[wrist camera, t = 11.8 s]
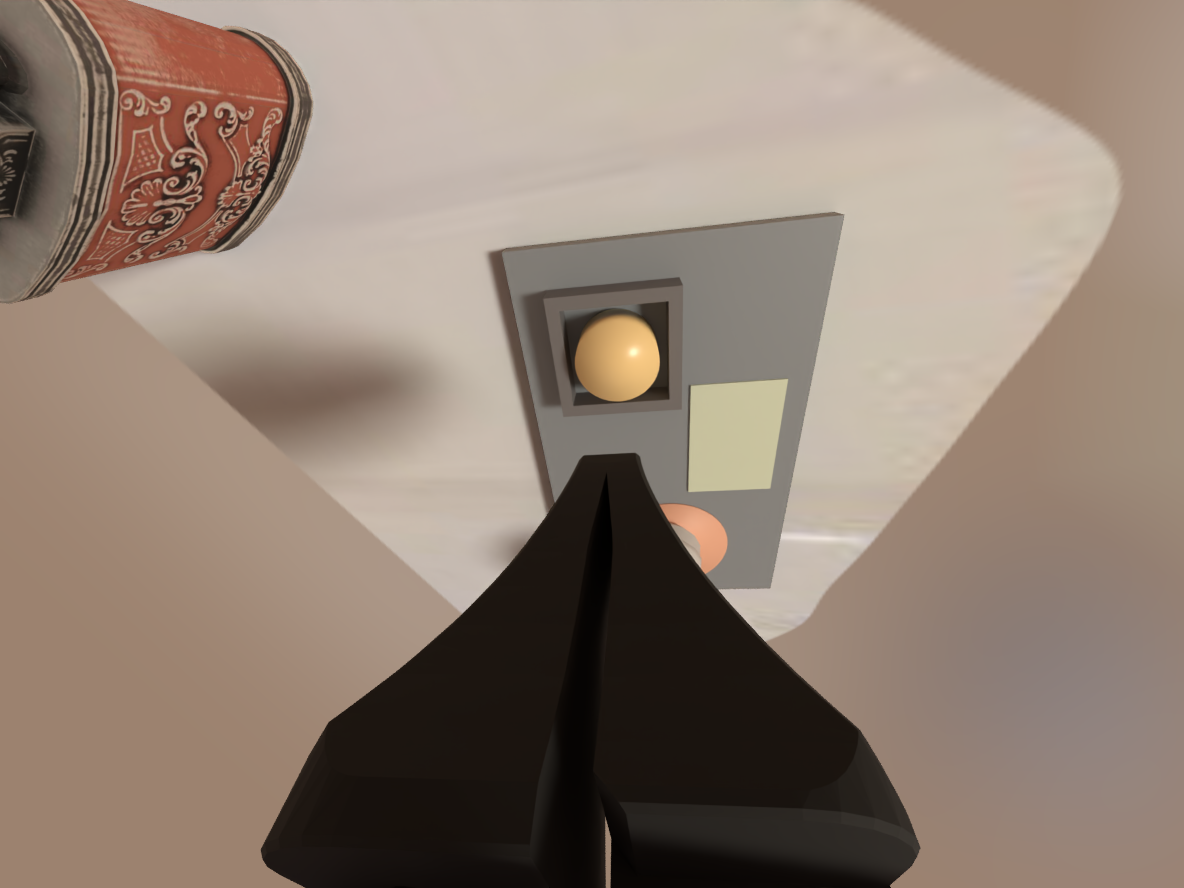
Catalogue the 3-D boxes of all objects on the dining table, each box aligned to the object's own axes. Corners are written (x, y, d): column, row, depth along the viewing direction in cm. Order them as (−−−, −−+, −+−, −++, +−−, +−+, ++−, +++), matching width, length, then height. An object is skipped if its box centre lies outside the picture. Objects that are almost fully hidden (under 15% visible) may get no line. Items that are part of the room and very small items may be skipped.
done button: (657, 380, 18) (660, 398, 17) (583, 385, 18) (580, 404, 17) (656, 305, 16) (658, 318, 15) (573, 312, 17) (569, 326, 15)
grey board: (766, 577, 26) (776, 605, 25) (574, 581, 28) (571, 608, 26) (834, 212, 15) (860, 219, 13) (506, 248, 16) (493, 259, 15)
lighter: (236, -4, 13) (-449, -278, 5) (336, 103, 14) (-60, 37, 6) (150, 198, 16) (-337, 247, 8) (238, 269, 18) (-102, 374, 9)
